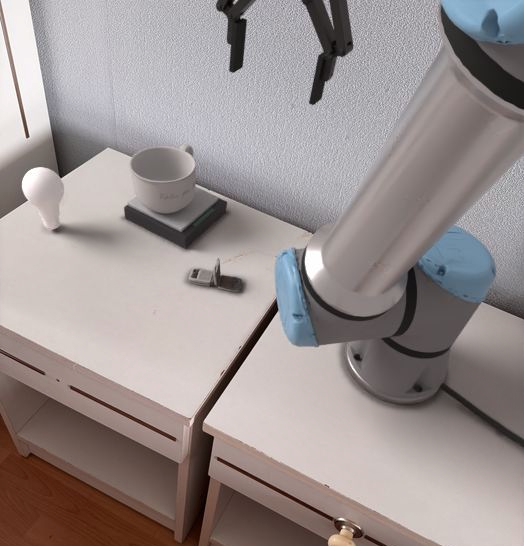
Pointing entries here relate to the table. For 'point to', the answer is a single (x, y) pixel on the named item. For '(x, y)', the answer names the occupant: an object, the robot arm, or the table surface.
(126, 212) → the scale
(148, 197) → the teacup
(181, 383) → the table surface
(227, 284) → the strap clip
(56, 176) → the lightbulb
